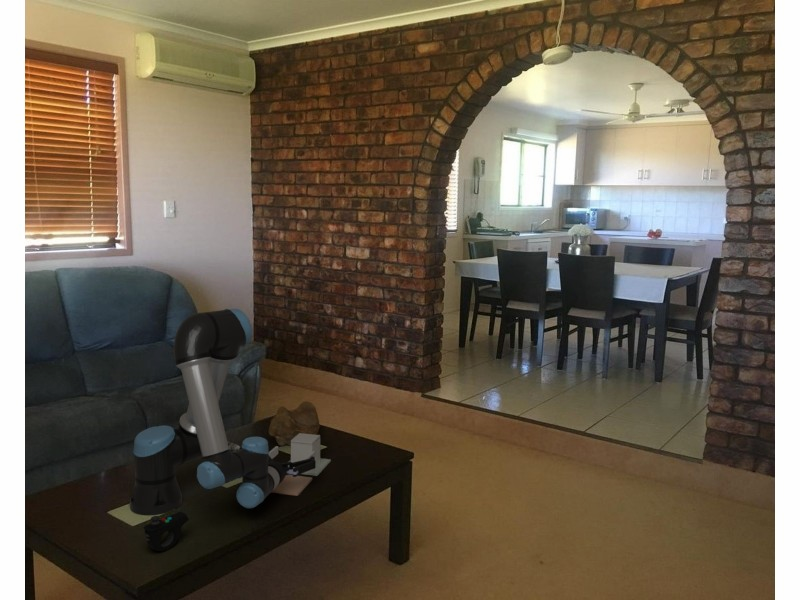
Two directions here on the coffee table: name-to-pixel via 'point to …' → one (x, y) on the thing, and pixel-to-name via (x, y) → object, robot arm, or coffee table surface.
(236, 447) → the log
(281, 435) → the rough brown rock
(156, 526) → the controller
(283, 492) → the thin square tile
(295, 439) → the white box
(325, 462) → the mat
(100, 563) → the coffee table surface
